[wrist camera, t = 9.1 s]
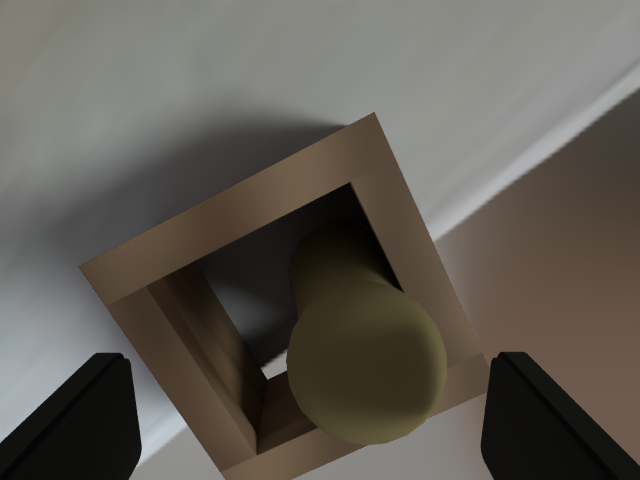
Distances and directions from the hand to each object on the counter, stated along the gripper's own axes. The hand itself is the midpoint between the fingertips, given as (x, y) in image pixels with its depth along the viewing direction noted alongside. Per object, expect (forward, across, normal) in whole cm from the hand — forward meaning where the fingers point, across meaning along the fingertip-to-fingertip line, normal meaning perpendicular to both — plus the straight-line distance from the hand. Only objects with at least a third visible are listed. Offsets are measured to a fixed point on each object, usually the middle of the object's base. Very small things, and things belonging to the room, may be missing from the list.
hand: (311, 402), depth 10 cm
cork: (+12, -2, +1) cm, 12 cm away
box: (+12, +1, +1) cm, 12 cm away
